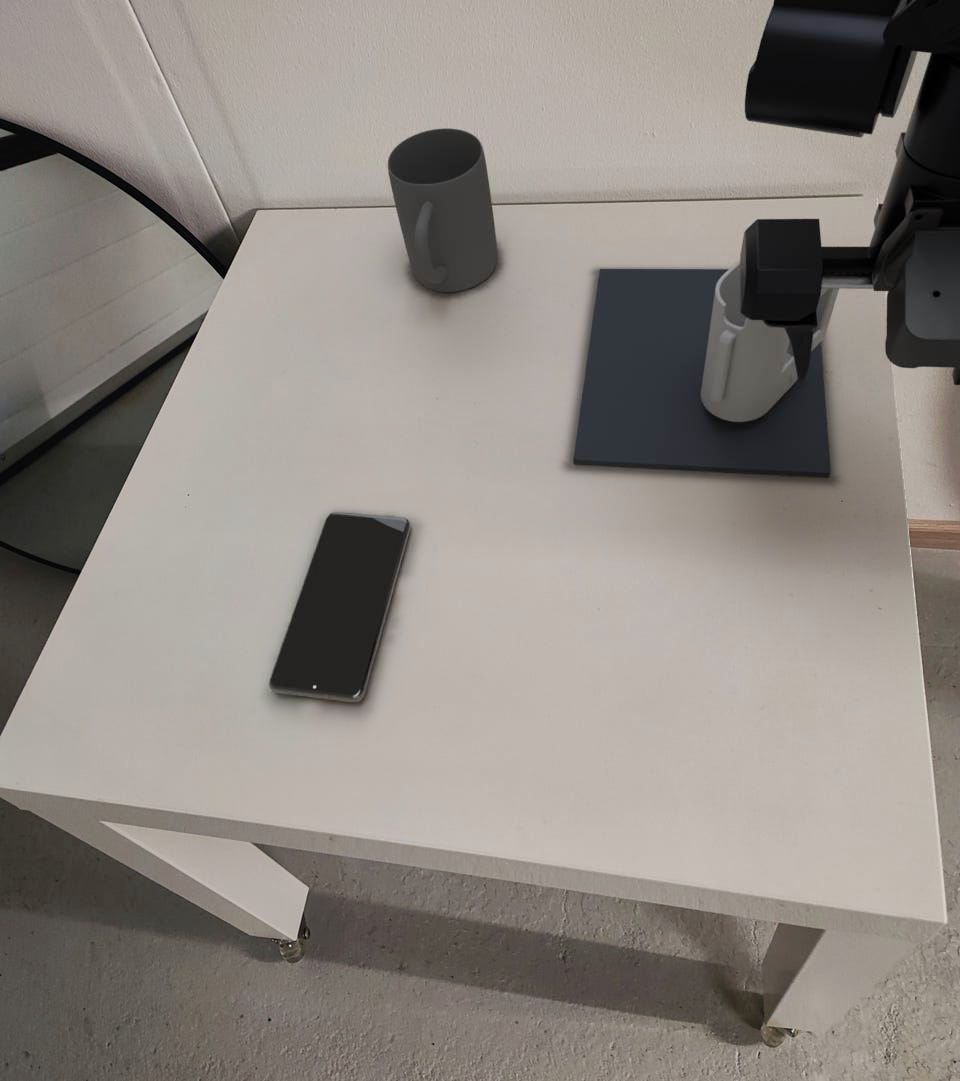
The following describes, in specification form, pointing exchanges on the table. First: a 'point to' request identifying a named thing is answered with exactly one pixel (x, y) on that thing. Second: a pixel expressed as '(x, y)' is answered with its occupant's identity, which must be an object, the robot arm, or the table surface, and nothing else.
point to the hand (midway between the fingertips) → (877, 377)
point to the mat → (682, 387)
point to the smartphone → (341, 608)
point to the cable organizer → (750, 355)
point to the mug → (444, 208)
